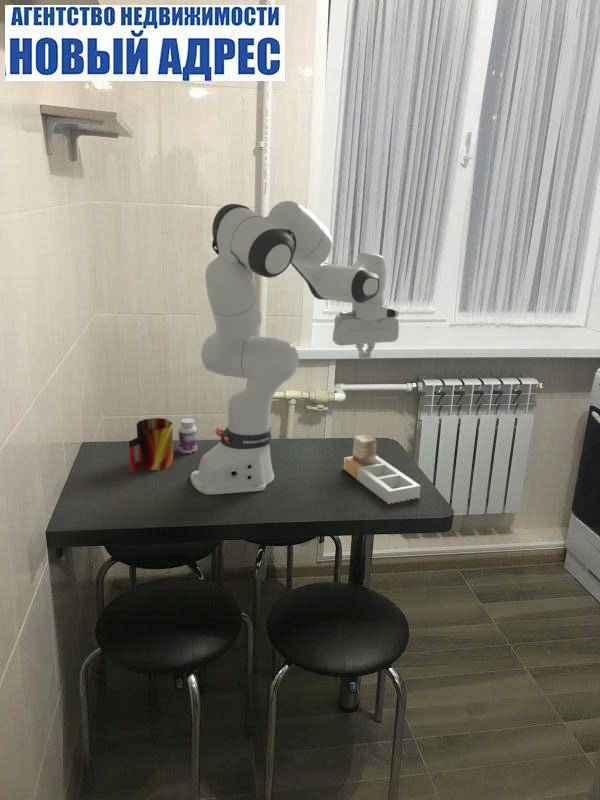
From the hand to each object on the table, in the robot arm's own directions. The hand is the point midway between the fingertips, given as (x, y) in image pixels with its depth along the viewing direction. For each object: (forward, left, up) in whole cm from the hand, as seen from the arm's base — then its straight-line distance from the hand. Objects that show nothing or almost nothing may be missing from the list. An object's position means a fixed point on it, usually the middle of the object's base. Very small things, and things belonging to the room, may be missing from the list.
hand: (364, 358), depth 186 cm
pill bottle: (-48, +18, -29) cm, 59 cm away
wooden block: (-6, -14, -29) cm, 33 cm away
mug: (-60, +10, -29) cm, 68 cm away
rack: (-6, -22, -29) cm, 37 cm away
